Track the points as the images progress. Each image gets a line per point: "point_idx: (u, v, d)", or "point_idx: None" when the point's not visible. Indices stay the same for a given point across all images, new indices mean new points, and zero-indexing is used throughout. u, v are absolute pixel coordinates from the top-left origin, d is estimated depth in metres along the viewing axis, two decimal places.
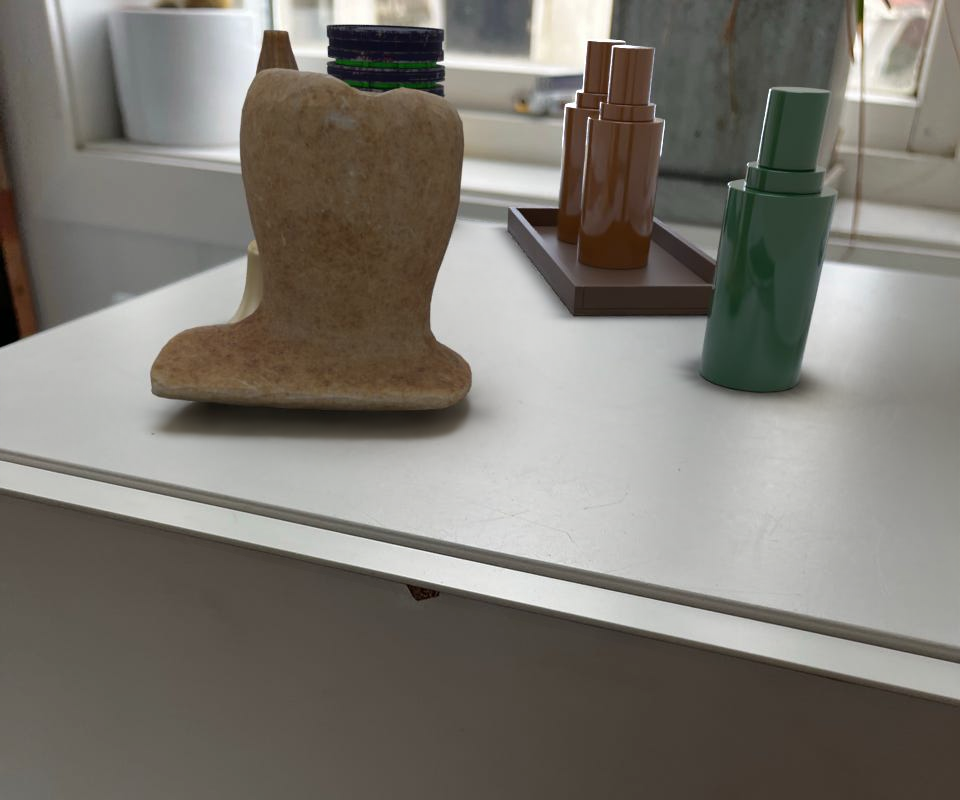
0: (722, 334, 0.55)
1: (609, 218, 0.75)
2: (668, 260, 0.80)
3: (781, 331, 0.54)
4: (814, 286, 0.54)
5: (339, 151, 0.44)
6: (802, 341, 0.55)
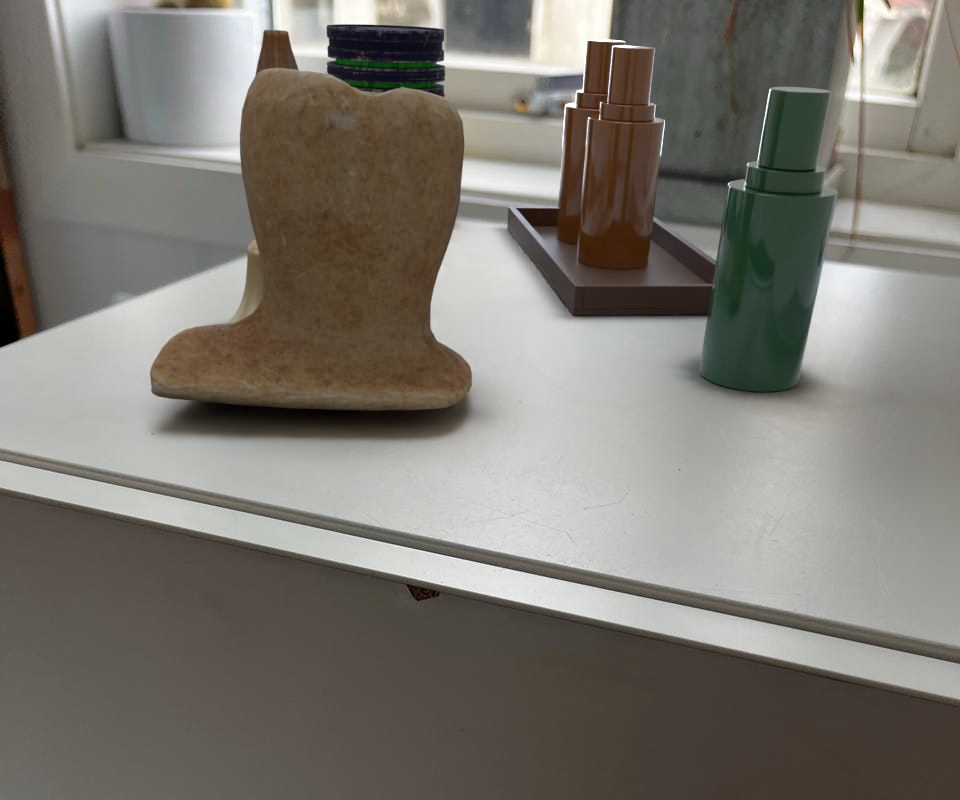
0: (722, 334, 0.55)
1: (609, 218, 0.75)
2: (668, 260, 0.80)
3: (781, 331, 0.54)
4: (814, 286, 0.54)
5: (339, 151, 0.44)
6: (802, 341, 0.55)
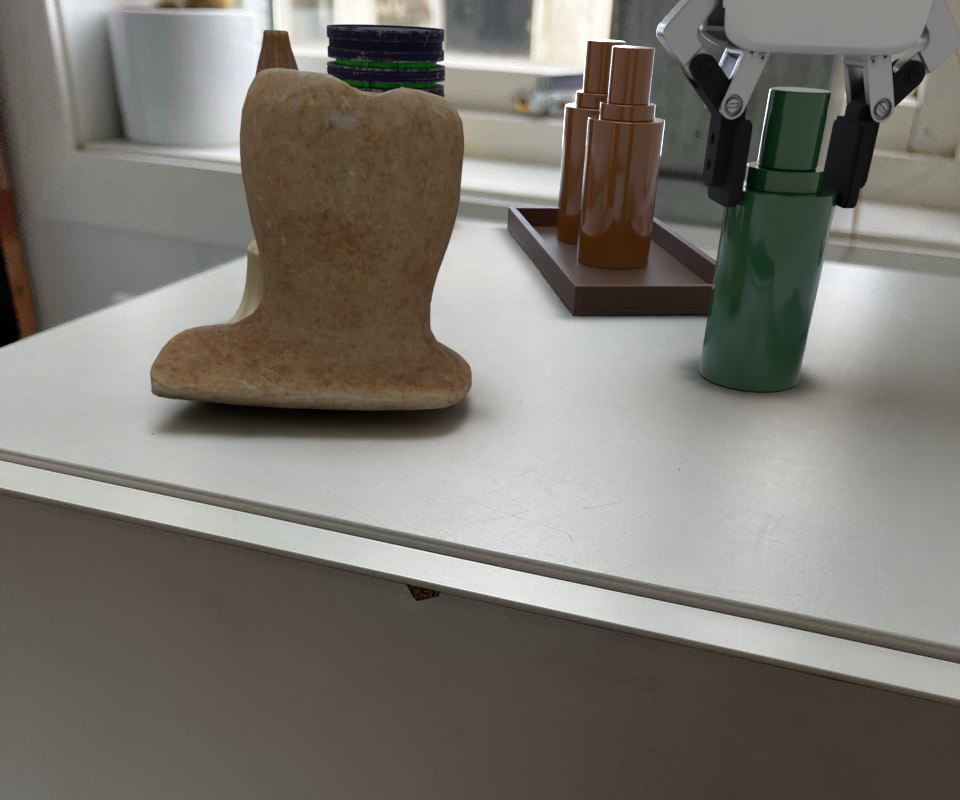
0: (722, 334, 0.55)
1: (609, 218, 0.75)
2: (668, 260, 0.80)
3: (781, 331, 0.54)
4: (814, 286, 0.54)
5: (339, 151, 0.44)
6: (802, 341, 0.55)
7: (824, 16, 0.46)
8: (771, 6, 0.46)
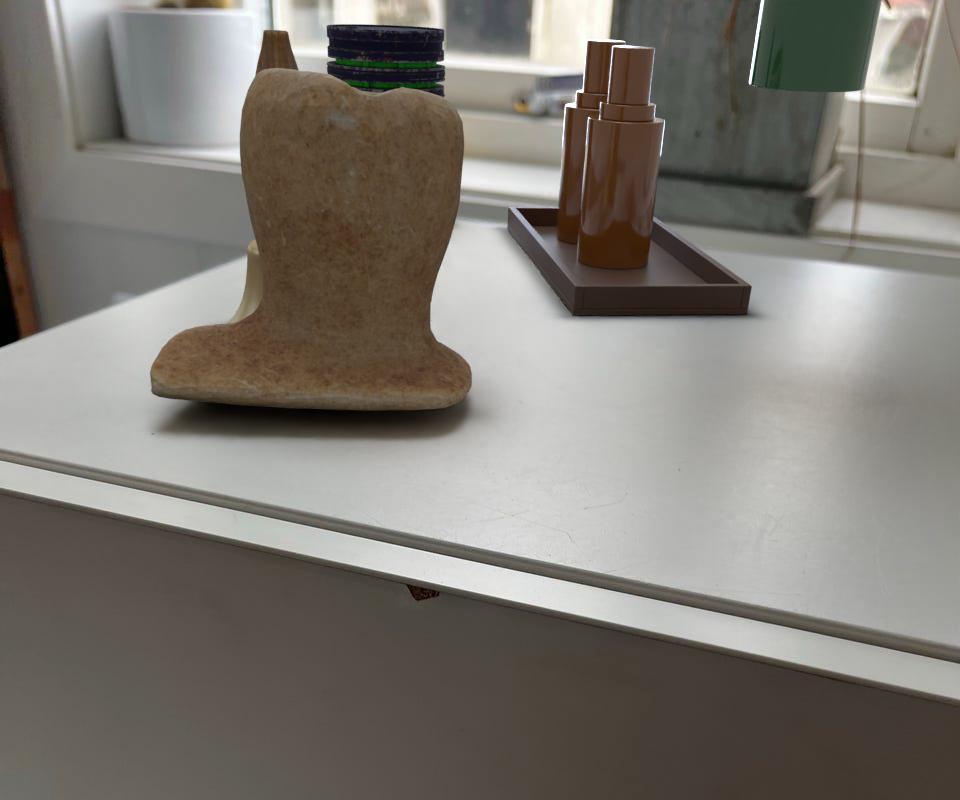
0: (778, 23, 0.48)
1: (609, 218, 0.75)
2: (668, 260, 0.80)
3: (848, 10, 0.46)
4: None
5: (339, 151, 0.44)
6: (871, 29, 0.48)
7: None
8: None
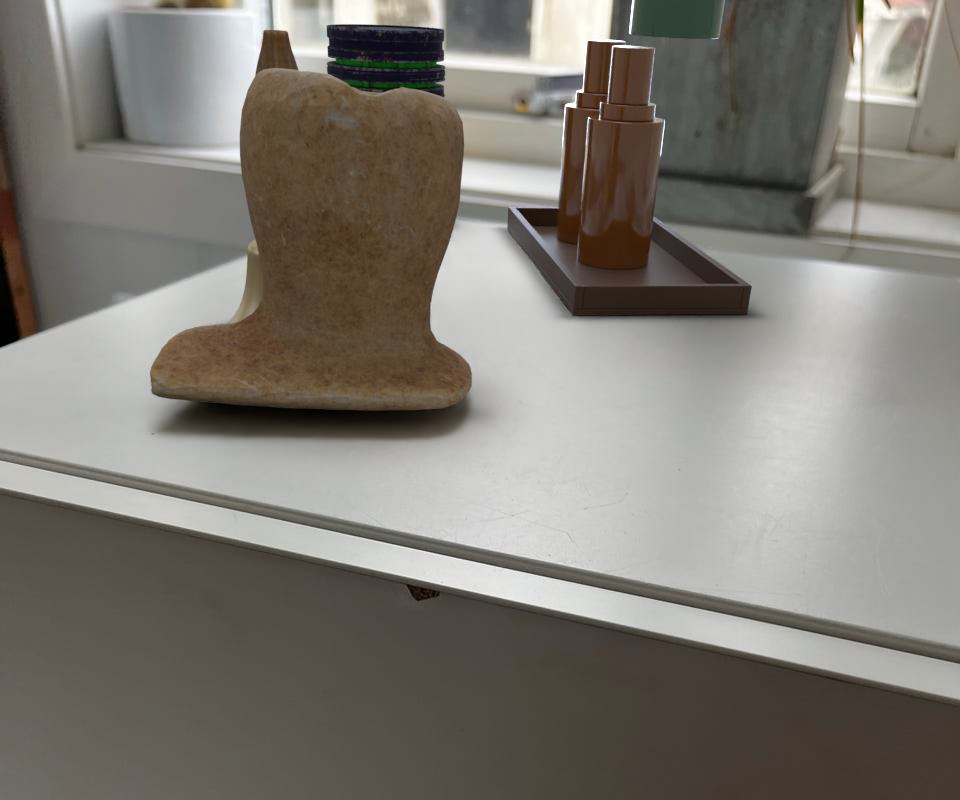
0: None
1: (609, 218, 0.75)
2: (668, 260, 0.80)
3: None
4: None
5: (339, 151, 0.44)
6: None
7: None
8: None
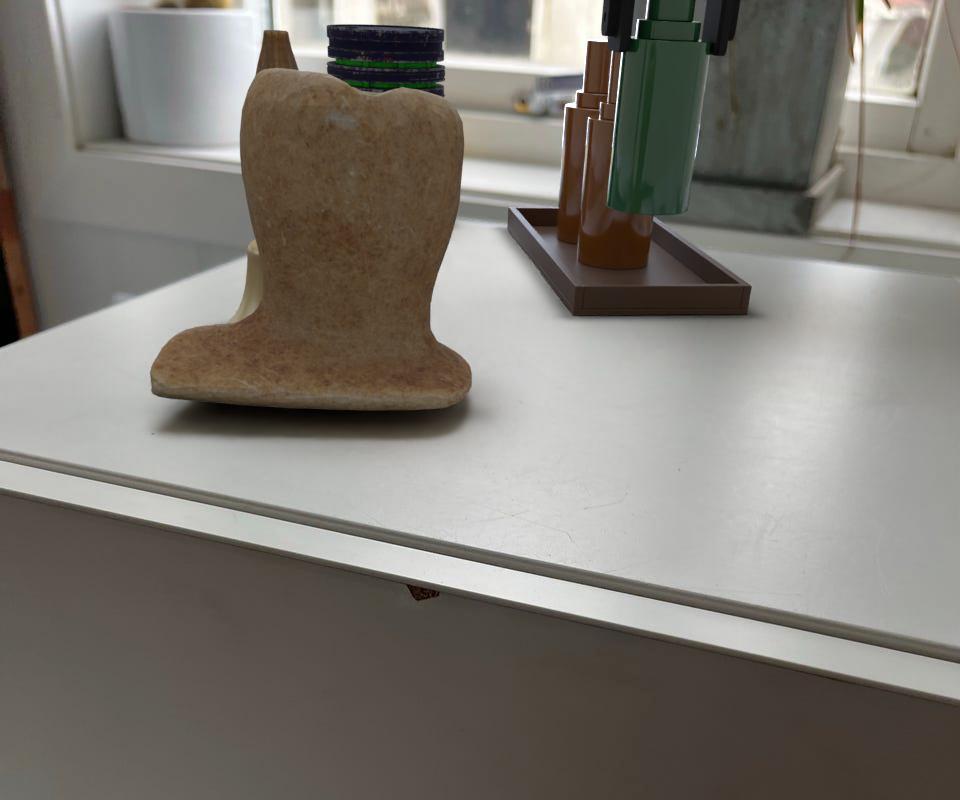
0: (621, 166, 0.67)
1: (609, 218, 0.75)
2: (668, 260, 0.80)
3: (668, 160, 0.65)
4: (694, 122, 0.65)
5: (339, 151, 0.44)
6: (687, 172, 0.67)
7: None
8: None
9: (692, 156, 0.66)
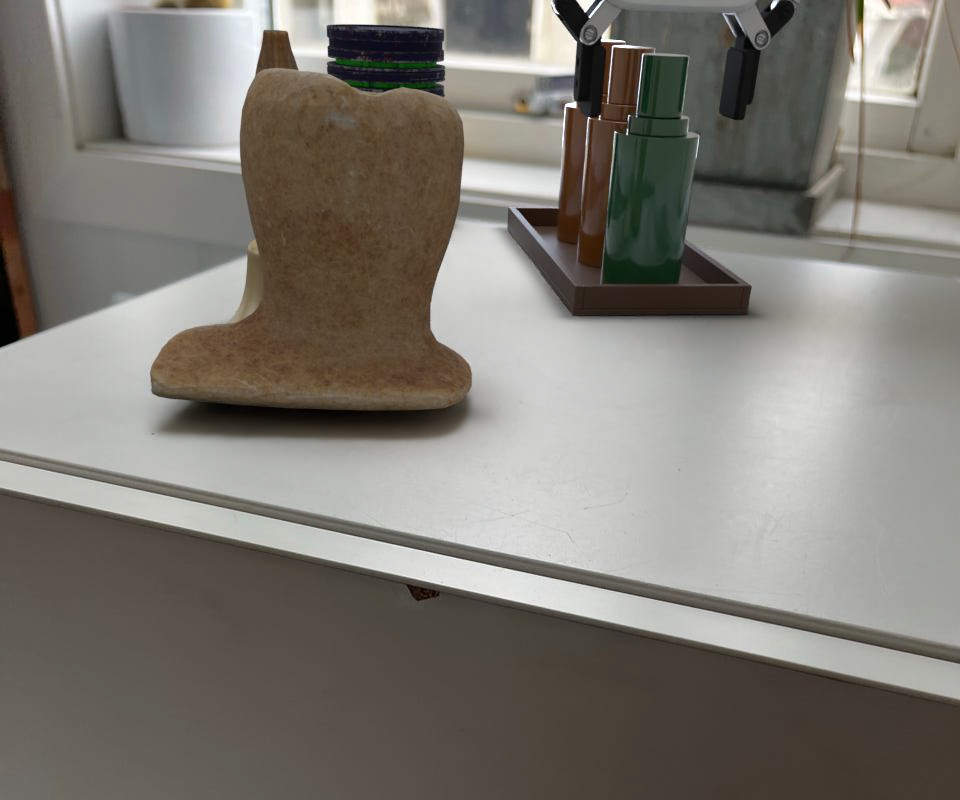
0: (613, 251, 0.70)
1: None
2: None
3: (658, 247, 0.68)
4: (683, 211, 0.68)
5: (339, 151, 0.44)
6: (677, 257, 0.70)
7: None
8: None
9: (681, 242, 0.69)
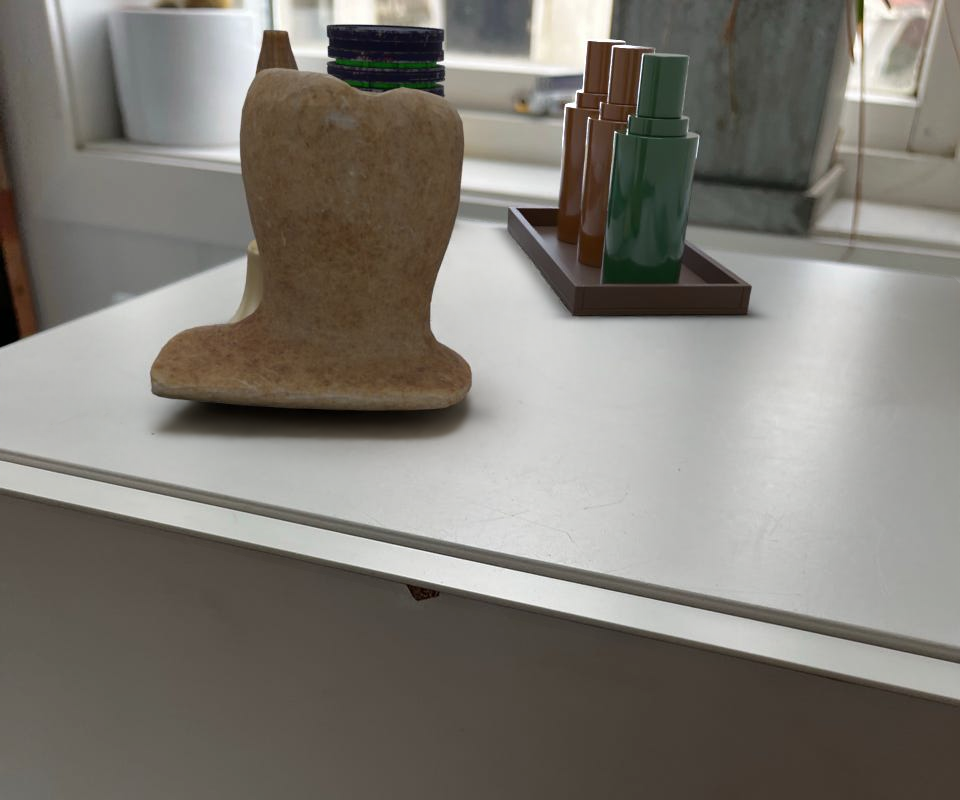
0: (613, 251, 0.70)
1: None
2: None
3: (658, 247, 0.68)
4: (683, 211, 0.68)
5: (339, 151, 0.44)
6: (677, 257, 0.70)
7: None
8: None
9: (681, 242, 0.69)
